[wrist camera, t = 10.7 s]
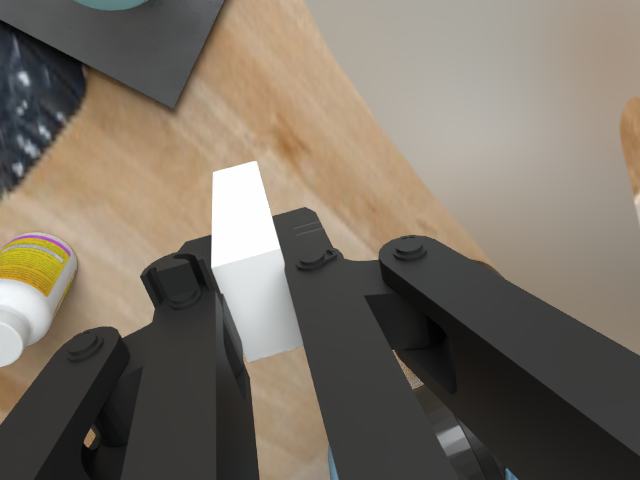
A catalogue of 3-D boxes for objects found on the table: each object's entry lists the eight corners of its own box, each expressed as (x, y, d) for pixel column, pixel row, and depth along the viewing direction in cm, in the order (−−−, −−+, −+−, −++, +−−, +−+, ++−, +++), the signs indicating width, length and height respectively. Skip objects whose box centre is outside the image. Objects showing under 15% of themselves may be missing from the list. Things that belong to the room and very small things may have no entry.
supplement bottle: (-5, 231, 43) (-80, 312, 32) (71, 227, 44) (24, 303, 33) (14, 290, 46) (-48, 383, 35) (85, 285, 47) (46, 372, 36)
